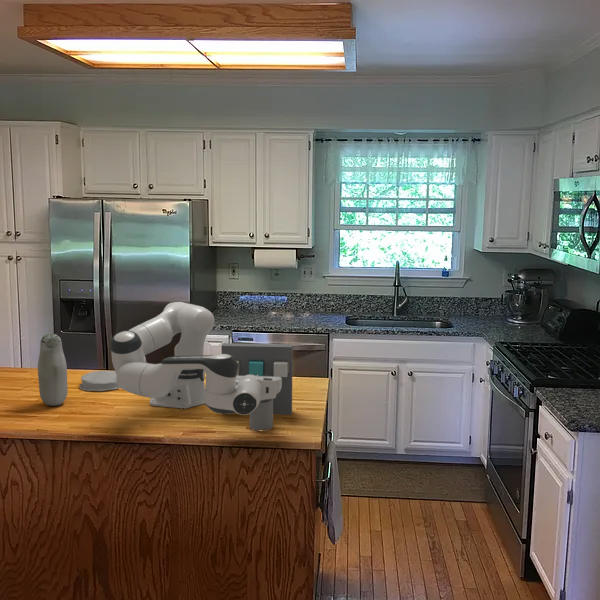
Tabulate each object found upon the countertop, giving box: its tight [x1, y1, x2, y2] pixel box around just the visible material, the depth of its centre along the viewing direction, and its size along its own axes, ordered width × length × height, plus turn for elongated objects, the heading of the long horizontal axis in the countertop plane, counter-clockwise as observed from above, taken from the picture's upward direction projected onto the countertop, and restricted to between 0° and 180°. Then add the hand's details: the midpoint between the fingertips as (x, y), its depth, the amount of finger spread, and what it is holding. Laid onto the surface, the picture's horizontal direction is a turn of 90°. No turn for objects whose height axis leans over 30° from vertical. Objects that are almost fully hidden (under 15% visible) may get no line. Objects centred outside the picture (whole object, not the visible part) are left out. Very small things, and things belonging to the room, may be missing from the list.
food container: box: [79, 369, 121, 392], centre depth 271 cm, size 20×20×7 cm
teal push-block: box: [249, 360, 264, 376], centre depth 236 cm, size 5×6×5 cm
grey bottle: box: [37, 333, 69, 407], centre depth 244 cm, size 10×10×28 cm
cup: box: [249, 399, 274, 431], centre depth 226 cm, size 8×8×10 cm
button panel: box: [220, 342, 294, 416], centre depth 238 cm, size 26×4×26 cm, turn 88°
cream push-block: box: [236, 360, 240, 376], centre depth 236 cm, size 5×6×5 cm
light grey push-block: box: [274, 361, 289, 377], centre depth 235 cm, size 5×6×5 cm
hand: (254, 376), depth 226 cm, fingers closed
